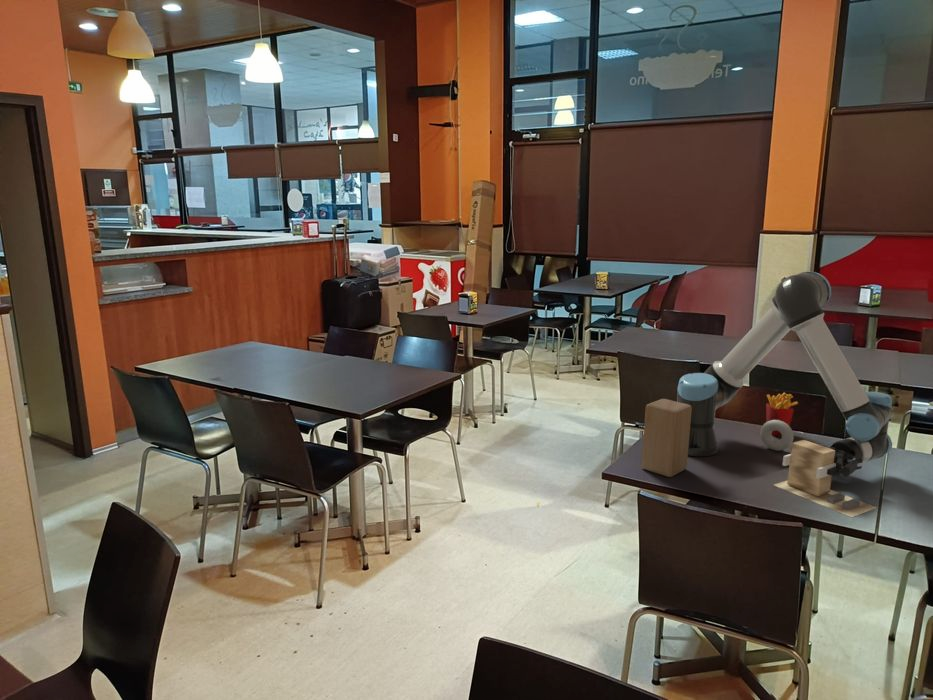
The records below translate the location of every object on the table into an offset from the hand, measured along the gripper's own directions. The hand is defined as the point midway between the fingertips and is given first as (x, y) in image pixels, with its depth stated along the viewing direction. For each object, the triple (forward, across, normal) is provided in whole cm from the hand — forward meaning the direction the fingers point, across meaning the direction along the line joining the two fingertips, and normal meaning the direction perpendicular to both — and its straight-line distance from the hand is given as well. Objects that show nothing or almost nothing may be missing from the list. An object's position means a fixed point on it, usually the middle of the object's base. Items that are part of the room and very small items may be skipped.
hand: (800, 467), depth 180 cm
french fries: (-40, +34, -9) cm, 53 cm away
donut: (-26, +26, -9) cm, 38 cm away
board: (-4, -4, -9) cm, 11 cm away
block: (+17, +32, -9) cm, 37 cm away
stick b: (-4, -12, -7) cm, 15 cm away
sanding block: (-5, 0, -7) cm, 8 cm away
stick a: (-4, -8, -7) cm, 12 cm away
